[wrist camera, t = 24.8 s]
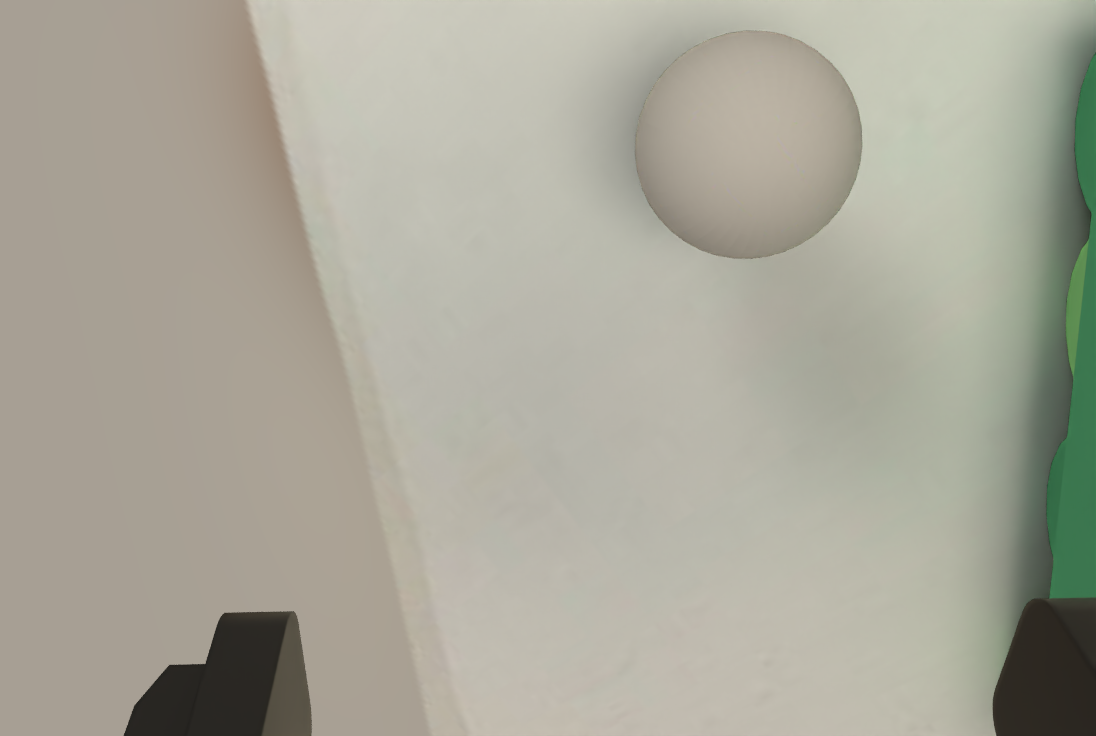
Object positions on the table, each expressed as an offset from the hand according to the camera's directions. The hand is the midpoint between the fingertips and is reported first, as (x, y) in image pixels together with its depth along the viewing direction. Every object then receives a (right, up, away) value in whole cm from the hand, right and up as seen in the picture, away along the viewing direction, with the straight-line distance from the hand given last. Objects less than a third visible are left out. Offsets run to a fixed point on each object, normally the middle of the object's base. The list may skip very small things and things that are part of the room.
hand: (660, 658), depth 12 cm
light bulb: (+4, +11, +23) cm, 26 cm away
